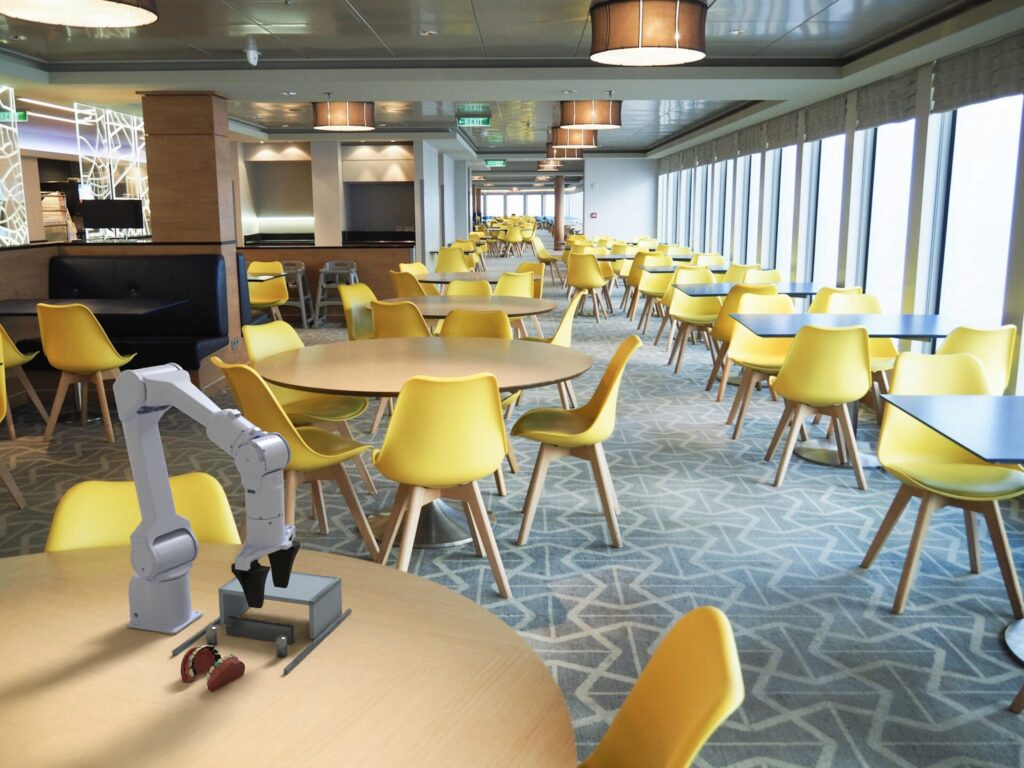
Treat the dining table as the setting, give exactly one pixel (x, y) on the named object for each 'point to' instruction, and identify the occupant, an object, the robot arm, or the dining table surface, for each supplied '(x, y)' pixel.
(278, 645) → the pin seat
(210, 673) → the dentures
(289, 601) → the housing
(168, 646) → the dining table surface
